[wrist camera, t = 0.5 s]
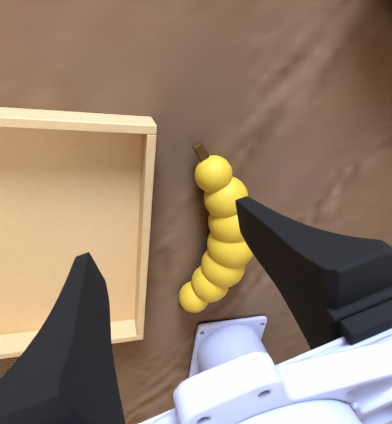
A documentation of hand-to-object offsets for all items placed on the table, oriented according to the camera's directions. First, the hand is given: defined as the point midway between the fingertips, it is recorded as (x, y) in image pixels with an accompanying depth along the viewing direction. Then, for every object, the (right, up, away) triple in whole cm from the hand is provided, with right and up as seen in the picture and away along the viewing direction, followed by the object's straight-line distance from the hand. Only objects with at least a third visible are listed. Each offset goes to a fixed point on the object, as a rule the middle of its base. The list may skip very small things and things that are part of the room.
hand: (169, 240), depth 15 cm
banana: (+3, 0, +13) cm, 13 cm away
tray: (-9, -1, +9) cm, 13 cm away
